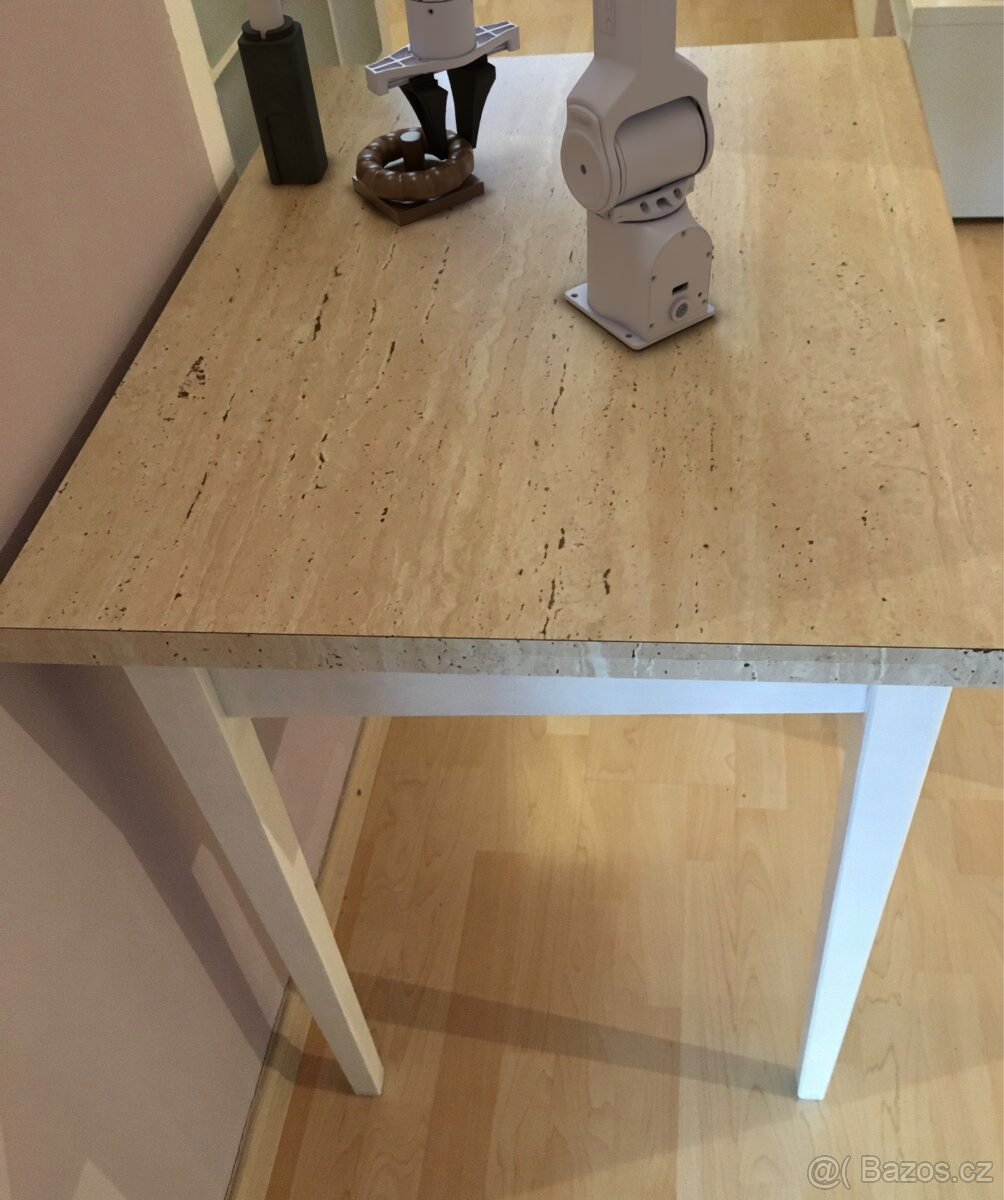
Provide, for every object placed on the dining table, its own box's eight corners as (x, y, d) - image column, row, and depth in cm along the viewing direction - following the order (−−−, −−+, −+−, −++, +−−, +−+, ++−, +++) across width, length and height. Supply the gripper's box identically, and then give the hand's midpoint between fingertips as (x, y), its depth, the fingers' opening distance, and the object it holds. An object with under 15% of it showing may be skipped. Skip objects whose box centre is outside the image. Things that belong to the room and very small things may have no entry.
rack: (484, 194, 97) (480, 138, 93) (400, 226, 94) (392, 170, 90) (434, 158, 102) (428, 104, 98) (353, 188, 99) (343, 134, 95)
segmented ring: (497, 177, 96) (495, 152, 94) (395, 219, 92) (390, 193, 90) (436, 136, 102) (433, 111, 100) (338, 173, 98) (333, 148, 97)
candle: (330, 158, 104) (272, -144, 85) (319, 184, 100) (256, -125, 82) (280, 159, 104) (211, -140, 85) (267, 185, 101) (193, -122, 82)
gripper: (484, -44, 92) (495, 112, 102) (338, -1, 87) (364, 159, 97) (530, -23, 88) (536, 137, 98) (379, 24, 83) (402, 187, 93)
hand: (453, 150), depth 98 cm, fingers closed on segmented ring, 2 cm apart
